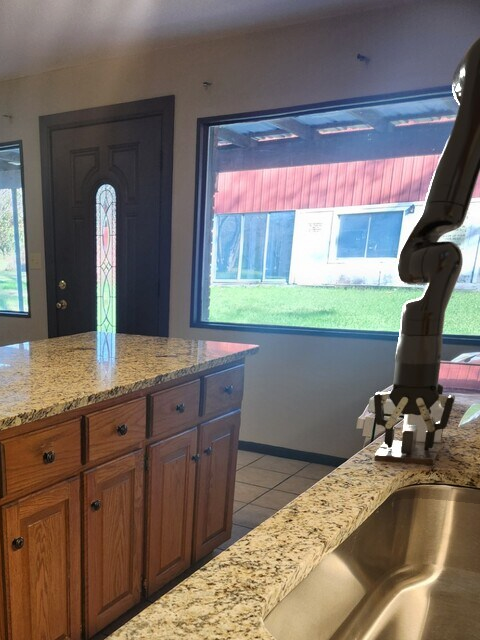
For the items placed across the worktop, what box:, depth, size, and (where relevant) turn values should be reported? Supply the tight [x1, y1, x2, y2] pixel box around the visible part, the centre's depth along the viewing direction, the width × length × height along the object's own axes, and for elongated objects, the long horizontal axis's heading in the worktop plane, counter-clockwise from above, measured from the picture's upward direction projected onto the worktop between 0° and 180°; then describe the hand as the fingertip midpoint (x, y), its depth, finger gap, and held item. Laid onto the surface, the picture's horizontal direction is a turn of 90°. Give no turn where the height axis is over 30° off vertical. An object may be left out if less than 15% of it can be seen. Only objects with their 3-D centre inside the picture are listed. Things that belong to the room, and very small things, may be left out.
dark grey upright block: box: [401, 425, 418, 453], centre depth 130 cm, size 6×2×4 cm, turn 149°
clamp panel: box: [373, 440, 441, 467], centre depth 131 cm, size 10×12×3 cm
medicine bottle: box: [402, 383, 444, 443], centre depth 147 cm, size 7×7×12 cm
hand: (408, 448), depth 130 cm, fingers open, 6 cm apart
